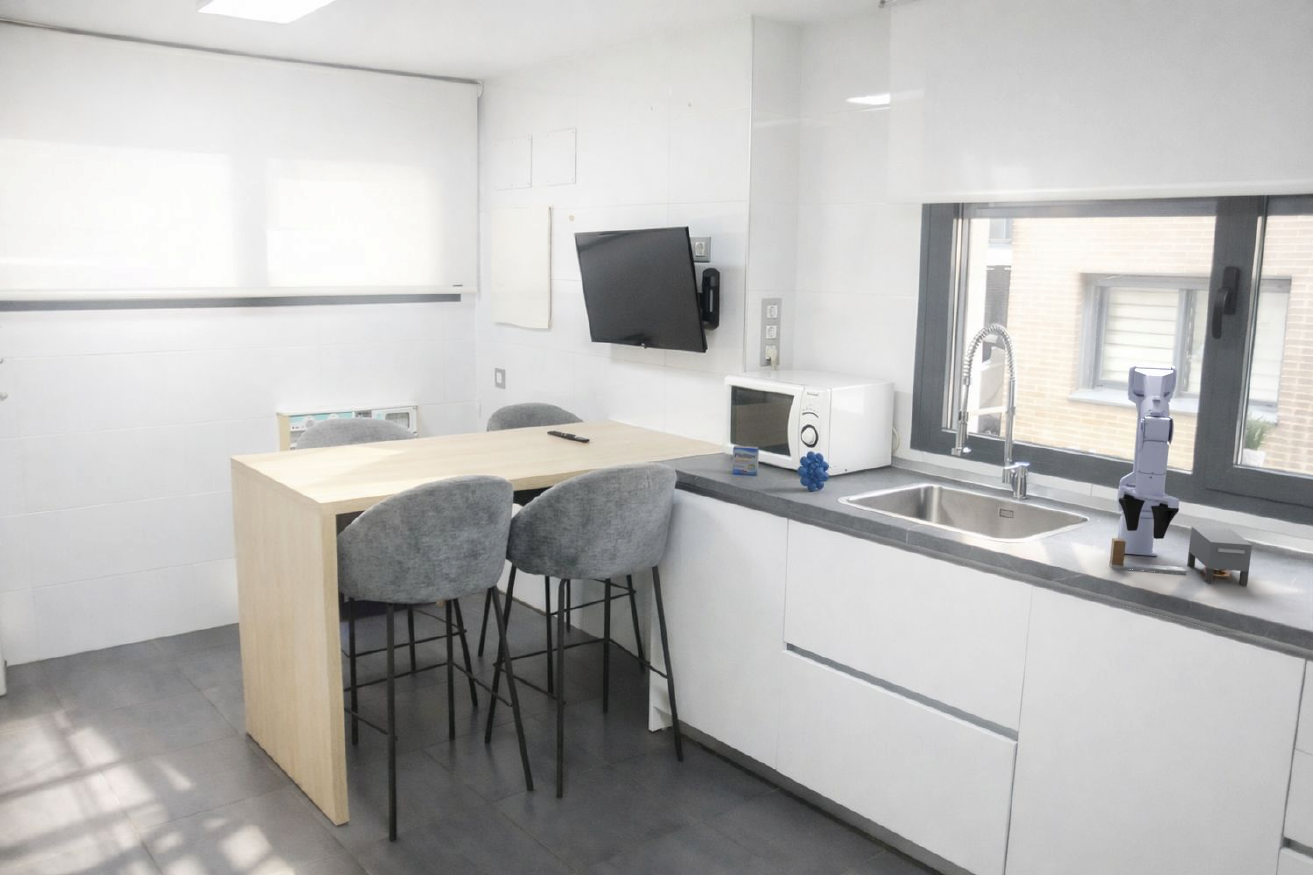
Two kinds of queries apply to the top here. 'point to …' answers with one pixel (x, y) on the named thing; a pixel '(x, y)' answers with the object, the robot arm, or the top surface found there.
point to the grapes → (813, 471)
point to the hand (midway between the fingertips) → (1145, 534)
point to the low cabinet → (1219, 551)
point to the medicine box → (745, 460)
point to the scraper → (1118, 563)
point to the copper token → (1219, 573)
